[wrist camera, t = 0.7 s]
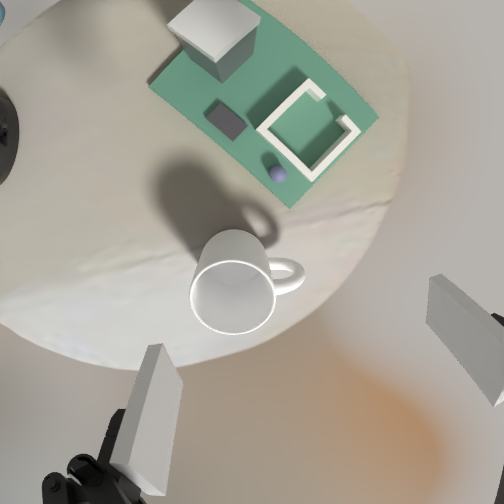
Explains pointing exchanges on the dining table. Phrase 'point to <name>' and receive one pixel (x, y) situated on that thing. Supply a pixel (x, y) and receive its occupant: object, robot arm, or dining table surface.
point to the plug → (217, 35)
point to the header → (330, 154)
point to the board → (268, 106)
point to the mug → (238, 283)
